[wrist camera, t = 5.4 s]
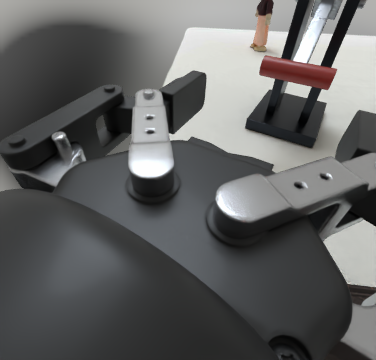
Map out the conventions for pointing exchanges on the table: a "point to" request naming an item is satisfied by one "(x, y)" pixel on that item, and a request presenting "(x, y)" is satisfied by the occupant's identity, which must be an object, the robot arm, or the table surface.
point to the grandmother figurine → (262, 24)
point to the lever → (305, 53)
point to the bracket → (294, 105)
